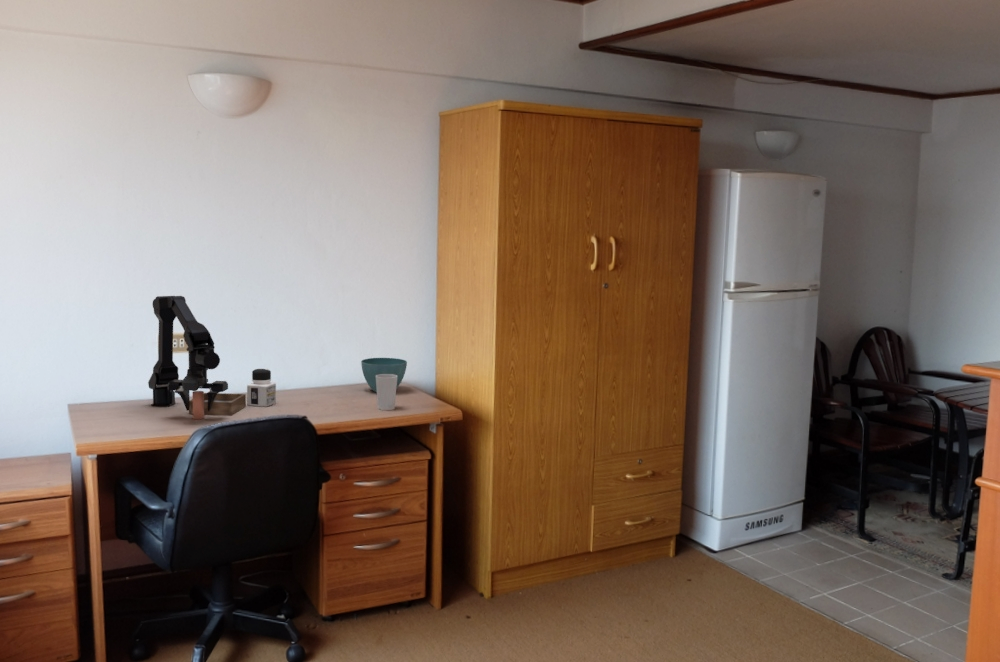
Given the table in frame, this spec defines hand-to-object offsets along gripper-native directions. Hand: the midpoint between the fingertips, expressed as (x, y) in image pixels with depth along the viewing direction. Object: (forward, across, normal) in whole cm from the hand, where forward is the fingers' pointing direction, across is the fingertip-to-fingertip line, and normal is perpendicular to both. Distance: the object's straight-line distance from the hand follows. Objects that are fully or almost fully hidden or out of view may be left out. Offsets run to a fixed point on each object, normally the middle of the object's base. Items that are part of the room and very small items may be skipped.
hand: (198, 410), depth 291 cm
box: (+2, +2, +13) cm, 13 cm away
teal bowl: (+3, +54, +57) cm, 79 cm away
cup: (+3, +60, +25) cm, 65 cm away
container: (+3, +14, +25) cm, 29 cm away
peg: (+2, 0, 0) cm, 2 cm away
